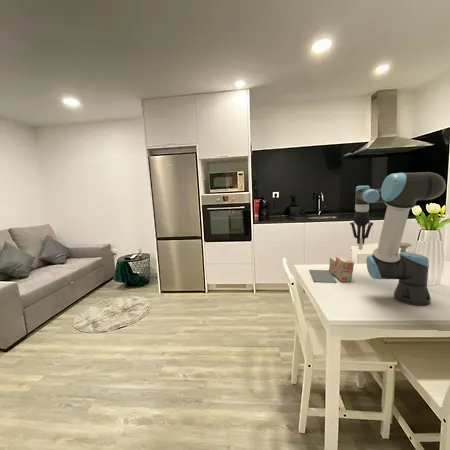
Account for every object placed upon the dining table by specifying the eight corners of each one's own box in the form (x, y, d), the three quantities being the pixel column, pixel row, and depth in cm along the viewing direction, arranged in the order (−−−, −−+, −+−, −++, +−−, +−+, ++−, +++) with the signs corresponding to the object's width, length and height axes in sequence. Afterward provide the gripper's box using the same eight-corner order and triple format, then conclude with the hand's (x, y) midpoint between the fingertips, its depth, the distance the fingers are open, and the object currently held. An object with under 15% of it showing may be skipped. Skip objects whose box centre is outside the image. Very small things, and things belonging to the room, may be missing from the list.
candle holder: (412, 277, 167) (415, 245, 164) (397, 277, 169) (398, 245, 166) (406, 273, 175) (408, 242, 173) (391, 272, 177) (393, 242, 175)
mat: (336, 282, 162) (336, 282, 162) (313, 282, 164) (313, 281, 164) (329, 271, 185) (329, 270, 185) (309, 270, 187) (309, 269, 187)
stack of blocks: (328, 270, 183) (330, 253, 182) (337, 271, 183) (340, 253, 181) (341, 281, 162) (343, 261, 160) (351, 282, 162) (354, 262, 160)
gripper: (371, 210, 167) (369, 247, 171) (348, 210, 170) (347, 247, 173) (375, 211, 160) (373, 250, 163) (352, 212, 163) (350, 250, 166)
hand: (360, 249), depth 168 cm, fingers closed
